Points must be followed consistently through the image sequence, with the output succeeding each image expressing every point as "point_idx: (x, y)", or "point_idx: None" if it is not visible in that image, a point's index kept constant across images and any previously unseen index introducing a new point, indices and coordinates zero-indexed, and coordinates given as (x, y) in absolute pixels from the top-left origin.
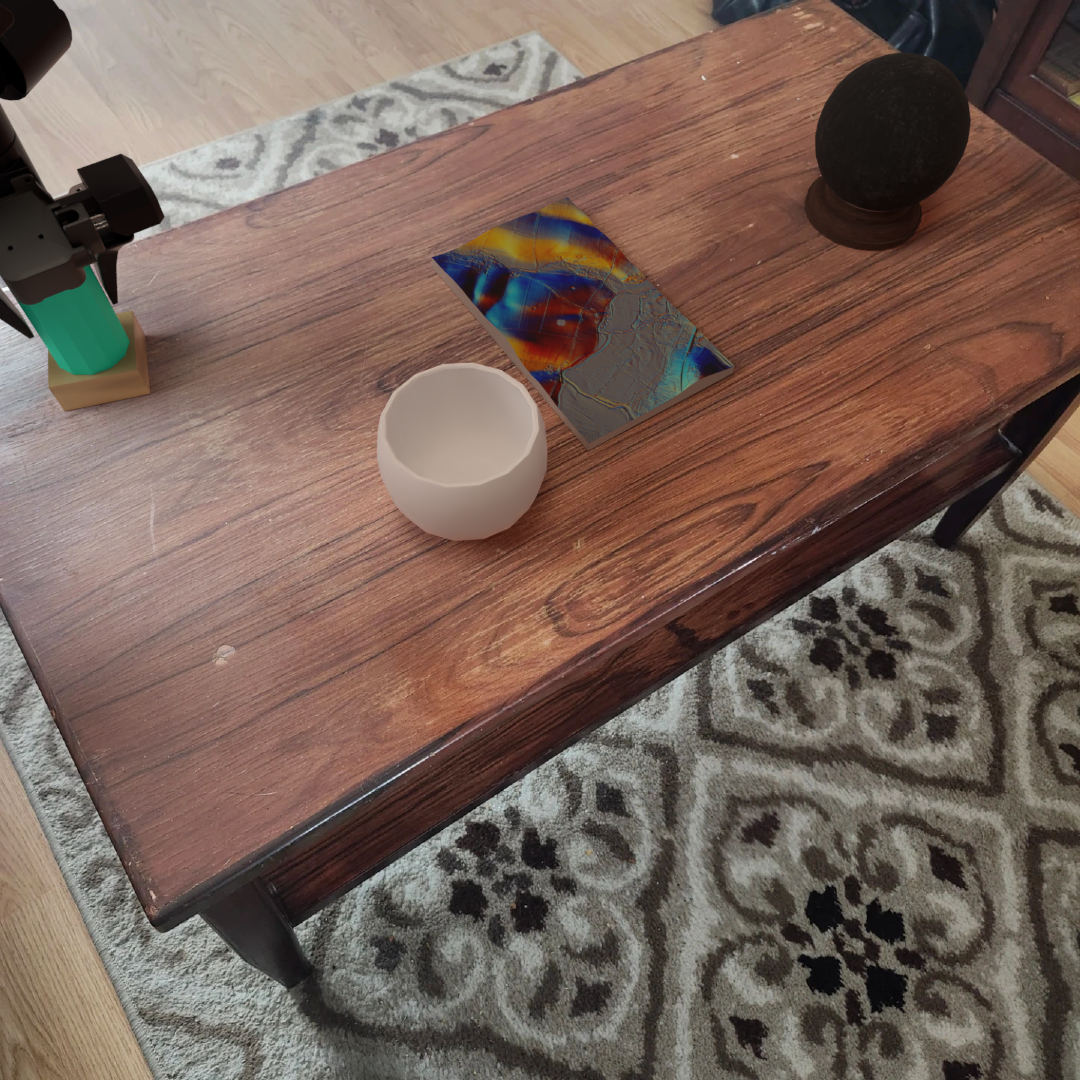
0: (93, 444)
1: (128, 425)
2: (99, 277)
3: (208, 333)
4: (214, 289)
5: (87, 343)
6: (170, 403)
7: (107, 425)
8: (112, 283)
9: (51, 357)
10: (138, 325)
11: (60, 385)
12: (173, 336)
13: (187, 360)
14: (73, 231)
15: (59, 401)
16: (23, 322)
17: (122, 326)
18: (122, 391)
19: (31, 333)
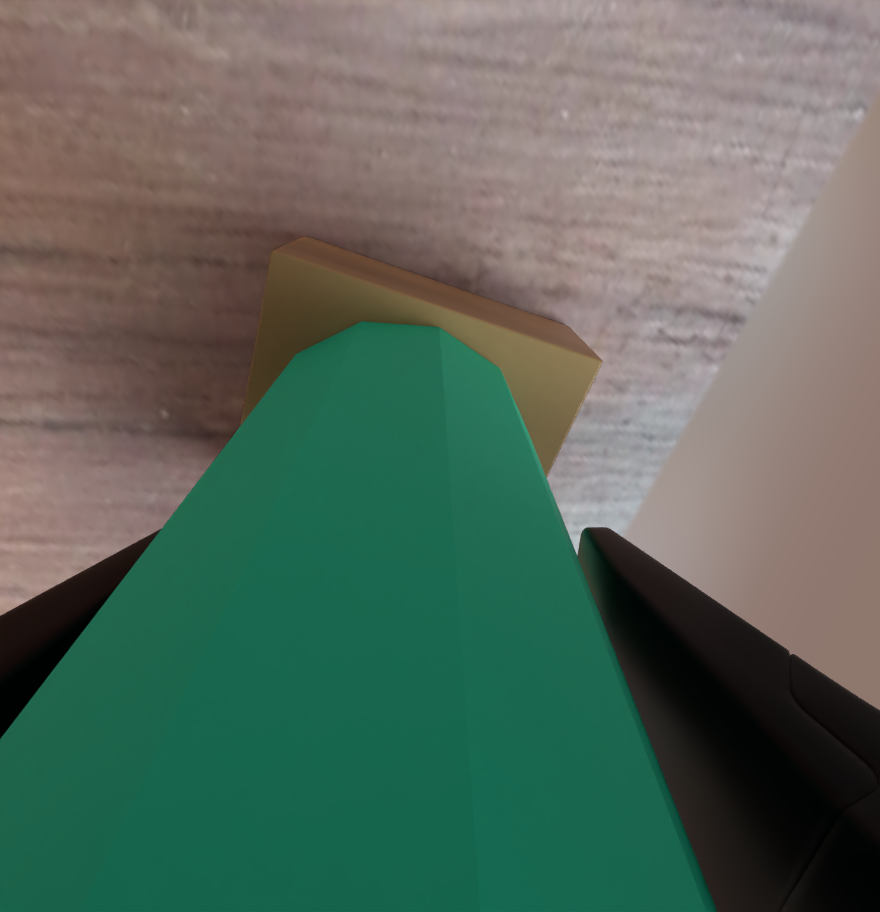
0: (558, 116)
1: (419, 130)
2: None
3: (62, 385)
4: (23, 533)
5: (384, 373)
6: (249, 144)
7: (481, 180)
8: (47, 605)
9: None
10: None
11: (562, 347)
12: (175, 432)
13: (150, 312)
14: None
15: (577, 336)
16: (630, 590)
17: None
18: (379, 266)
19: (595, 540)
